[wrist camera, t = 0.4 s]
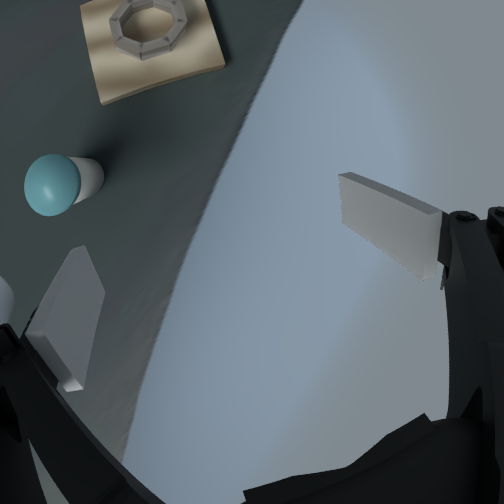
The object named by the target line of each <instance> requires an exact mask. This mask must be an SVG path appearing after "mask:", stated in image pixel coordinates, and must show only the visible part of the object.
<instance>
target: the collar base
mask: <svg viewBox="0 0 504 504" xmlns="http://www.w3.org/2000/svg"><path fill="white" fill-rule="evenodd" d="M80 9H81V15H82V21H83V26H84V32H85V37H86V42H87V47H88V51H89V56H90V60H91V65H92V69H93V73H94V78H95V82H96V86H97V90H98V94H99V97H100V101H101V104H102V105H103V106H105V105H108V104H110V103H113V102H115V101H118V100H121V99H123V98H126V97H128V96H131V95H134V94H137V93H140V92H142V91H145V90H148V89H151V88H154V87H157V86H160V85H163V84H167V83H170V82H173V81H177V80H180V79H183V78H187V77H191V76H194V75H198V74H202V73H206V72H210V71H214V70H218V69H222V68H223V67H224V66H225V61H224V58H223V55H222V52H221V48H220V45H219V42H218V39H217V36H216V33H215V30H214V27H213V24H212V21H211V18H210V15H209V12H208V9H207V6H206V3H205V0H93V1H90V2H88V3H85V4H83V5H80Z"/></svg>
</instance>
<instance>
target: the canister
mask: <svg viewBox="0 0 504 504" xmlns="http://www.w3.org/2000/svg"><path fill="white" fill-rule="evenodd" d="M103 182H104V171H103V168H102V166H101V165H100V163H99V162H97V161H96V160H94V159H91V158H76V157H66V156H64V155H55V154H49V155H45V156H42V157H40V158H39V159H37V160H36V161H35V162H34V163H33V164H32V165H31V166H30V168H29V170H28V172H27V174H26V178H25V184H24V190H25V195H26V199H27V201H28V203H29V205H30V206H31V207H32V208H33V209H34V210H35V211H36V212H37V213H39V214H41V215H45V216H54V215H57V214H60V213H62V212H63V211H65V210H67V209H69V208H70V207H71V206H72V205H73V204H75V203H77V202H79V201H81V200H83V199H86V198H88V197H90V196H92V195H94V194H96V193H97V192H98V191H99V190H100V189H101V187H102V185H103Z"/></svg>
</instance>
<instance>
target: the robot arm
mask: <svg viewBox="0 0 504 504" xmlns="http://www.w3.org/2000/svg"><path fill="white" fill-rule="evenodd" d="M338 176H339V186H340V197H341V209H342V223H343V224H345V225H346V226H347V227H349V228H350V229H352V230H353V231H355V232H356V233H358V234H359V235H361V236H362V237H363V238H365V239H366V240H368V241H369V242H371V243H372V244H374V245H375V246H376V247H378V248H379V249H381V250H382V251H383V252H385V253H386V254H387V255H389V256H390V257H392V258H393V259H394V260H396V261H397V262H399V263H400V264H401V265H402V266H404V267H405V268H407V269H408V270H409V271H410V272H412V273H413V274H414V275H416V276H417V277H419V278H420V279H421V280H422V281H424V280H426V279H428V278H430V277H432V276H434V275H436V270H437V263H438V261H439V262H440V263H442V264H443V265H444V269H443V275H442V281H441V287H440V290H442V289H443V287H444V288H445V297H446V308H447V320H448V335H449V405H448V412H447V416H446V419H441V420H437V421H432V422H431V421H430V420H429V418H428V417H427V416H426V415H425V413H423V414H422V415H420V416H419V417H417V418H415V419H414V420H412V421H410V422H409V423H407V424H405V425H404V426H402V427H400V428H398V429H396V430H395V431H393V432H391V433H389V434H387V435H386V436H385V437H384V438H382V439H381V440H380V441H379V442H378V443H377V444H376V445H374V446H373V447H372V448H371V449H370V450H368V451H367V452H366V453H365V454H363V455H362V456H361V457H360V458H358V459H357V460H356V461H355V462H354V463H352V464H351V465H349V466H347V467H345V468H340V469H336V470H330V471H324V472H318V473H311V474H304V475H297V476H291V477H288V478H285V479H282V480H279V481H276V482H272V483H269V484H266V485H262V486H259V487H255V488H252V489H248V490H245V491H243V493H244V496H245V499H246V501H245V502H243V503H241V504H504V207H500V206H498V207H491V208H489V209H488V217H487V219H486V220H480V219H479V218H478V217H477V216H476V215H475V214H473V213H470V212H467V211H455V212H452V213H450V215H449V214H447V213H445V212H443V211H442V210H440V209H438V208H436V207H433V206H431V205H429V204H427V203H425V202H423V201H420V200H418V199H416V198H414V197H411V196H409V195H407V194H404V193H402V192H400V191H397V190H395V189H393V188H390V187H387V186H385V185H383V184H380V183H378V182H375V181H373V180H370V179H368V178H365V177H363V176H360V175H357V174H355V173H352V172H348V173H344V174H339V175H338ZM104 295H105V290H104V288H103V286H102V284H101V282H100V279H99V277H98V275H97V273H96V270H95V268H94V266H93V264H92V261H91V259H90V257H89V254H88V252H87V249H86V247H85V245H82V246H79V247H77V248H74V249H71V251H70V253H69V254H68V256H67V258H66V259H65V261H64V262H63V264H62V266H61V267H60V269H59V271H58V273H57V274H56V276H55V278H54V279H53V281H52V283H51V285H50V287H49V288H48V290H47V292H46V294H45V296H44V298H43V299H42V301H41V303H40V305H39V306H38V307H37V308H36V309H35V311H34V312H33V313H32V315H31V317H30V319H29V320H30V321H28V323H27V325H26V328H25V329H24V331H23V333H22V335H21V338H20V340H19V338H18V337H17V335H16V334H15V332H14V330H13V329H12V327H11V326H10V325H9V324H8V323H7V324H2V325H0V504H47V502H46V499H45V496H44V493H43V490H42V487H41V484H40V481H39V478H38V474H37V471H36V468H35V464H34V460H33V456H32V453H31V448H30V444H29V440H30V442H31V444H32V446H33V448H34V449H35V451H36V453H37V455H38V456H39V458H40V460H41V462H42V463H43V465H44V466H45V468H46V470H47V471H48V473H49V475H50V476H51V478H52V479H53V481H54V482H55V484H56V485H57V487H58V488H59V490H60V491H61V493H62V494H63V495H64V497H65V498H66V500H67V501H68V502H69V504H165V503H164V502H163V501H162V500H160V499H159V498H158V497H157V496H156V495H155V494H153V493H152V492H151V491H150V490H149V489H148V488H146V487H145V486H144V485H143V484H142V483H141V482H140V481H138V480H137V479H136V478H135V477H134V476H133V475H132V474H131V473H130V472H129V471H128V470H127V469H126V468H125V467H124V466H123V465H122V464H121V463H120V462H119V461H118V460H117V459H116V458H115V457H114V456H113V455H112V454H111V453H110V452H109V451H108V450H107V449H106V448H105V447H104V446H103V445H102V444H101V443H100V442H99V441H98V439H97V438H96V437H95V436H94V435H93V434H92V433H91V432H90V430H89V429H88V428H87V427H86V426H85V425H84V423H83V422H82V421H81V420H80V419H79V417H78V416H77V415H76V414H75V412H74V411H73V410H72V409H71V407H70V406H69V405H68V404H67V402H66V401H65V400H64V398H63V397H62V396H61V395H60V393H59V392H58V391H57V390H56V388H57V384H58V381H59V383H60V384H61V385H62V386H63V388H64V389H65V390H66V391H67V392H69V391H75V390H81V389H84V384H85V378H86V373H87V368H88V363H89V358H90V353H91V348H92V344H93V339H94V335H95V330H96V326H97V322H98V318H99V314H100V310H101V306H102V303H103V299H104ZM28 438H29V440H28Z"/></svg>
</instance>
